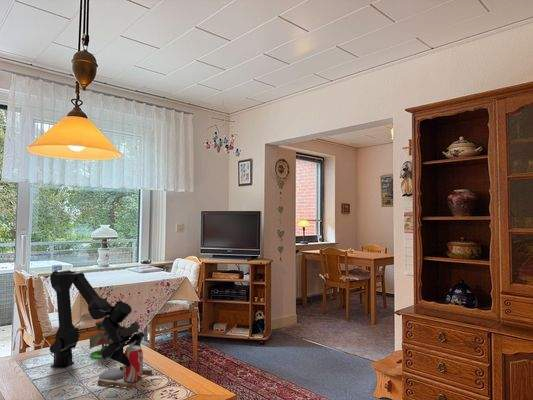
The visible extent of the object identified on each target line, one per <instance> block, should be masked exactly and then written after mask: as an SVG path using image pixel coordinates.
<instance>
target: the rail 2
mask: <svg viewBox="0 0 533 400" xmlns="http://www.w3.org/2000/svg"><path fill="white" fill-rule="evenodd" d="M119 369H120V370H123V365H120V366H119ZM143 373H145V374H144V375H152V374H153V369H152V368H151V369H150V368H144V367H143V371H142V374H143Z"/></svg>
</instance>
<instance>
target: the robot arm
mask: <svg viewBox="0 0 533 400" xmlns="http://www.w3.org/2000/svg"><path fill="white" fill-rule="evenodd" d="M49 281H50V285H51V287H52V289H53V290H54V291H55V295H56V305H57V318H58V319H57V320H58V329H57V331H56V333H55V336H54V337H55V339H54V342H53V343H52V344H51V345H50V346H49V353H51V354H53V364H51V365H50V368H56V369H65V368H68V367H69V366H71V365H73V364H75V361H74V360H73V349H75V348H76V346H77V344H78V342H79V338H80V333H79V327H75V326H74V324H73V316H72V302H71V292H70V291H71V288H72V285H74V287H75V288H76V290H77V291H78V292H79V294H80V295H81V297H82V298H83V299H84V301H85V302H86V304H87V311H88V313H89V315H90V317H91V318H92V319H93V320H94V321H95V320H96V321H98V320H101V319H103V320H102V321H99V322H98V323H99V324H98V327H97V328H98V329H100V328H103V329H104V330H105V331H104V332H106V333H107V335H108V336H109V337H108V338H107V339H108V340H111V341H112V342H113V343H112V344H109V345H107V347H106V348H105V349H104V350H103V351H102V357H103V358H102V359H103V360H107V359H109V360H113V361H115V362H118V363H120V364H121V365H123V364H124V365H125V366H127V367H129V366H130V363H129V361H128V359H127V357H126V356H125V354H124V352H125V351H124V348H125V347H129V346H134V345H138V346H141V344H142V341H143V339H144V338H145V337H146V335H145V334H144V332H143V331H139V330H140V328H141V327H140V324H139V323H138V322H137V321H135V322H132V323H130V326H128V327H126V326H124V325H123V326H122V325H121V324H120V323H122V322H124V321H125V320H126V318H128V317H129V315H130V314H131V313H132V310H133V309H132V306H131V305H130V304H128V303H126V302H124V301H122V300H117V302H116V303H115V304H114V305H111V303H110V302H109V301H107V300H106V298H103V297H101V296H100V295H99V294H98V293H97V291H96V290H95V289H94V286H92V285H91V283H90V282H89V280H88V279H87V278H86V275H85V273H84V272H82V271H74V270H73V271H72V270H70V269H69V268H67V269H59V270H53V272H51V273H50V276H49ZM141 347H142V346H141ZM110 355H111V357H110Z"/></svg>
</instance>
